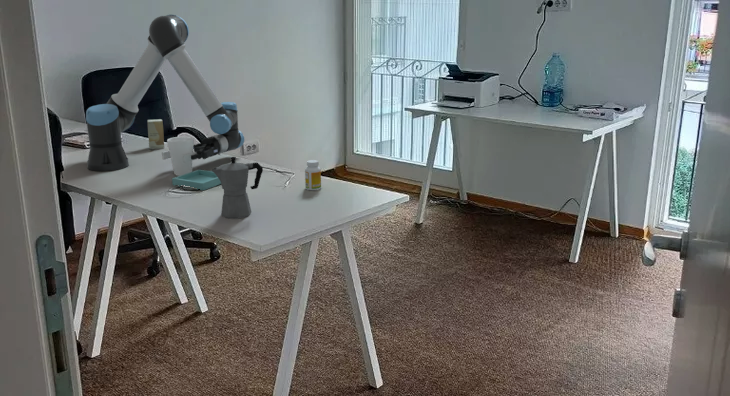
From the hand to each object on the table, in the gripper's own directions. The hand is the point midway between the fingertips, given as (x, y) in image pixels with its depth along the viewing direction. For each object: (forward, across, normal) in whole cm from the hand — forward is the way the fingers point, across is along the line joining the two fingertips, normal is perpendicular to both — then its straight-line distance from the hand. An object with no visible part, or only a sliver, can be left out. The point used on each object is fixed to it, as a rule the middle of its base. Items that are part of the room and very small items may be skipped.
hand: (173, 157), depth 250 cm
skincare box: (-31, +40, -7) cm, 51 cm away
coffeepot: (+24, -49, -7) cm, 55 cm away
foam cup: (-4, 0, -7) cm, 8 cm away
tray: (+3, -15, -7) cm, 17 cm away
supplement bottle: (-10, -54, -7) cm, 55 cm away
